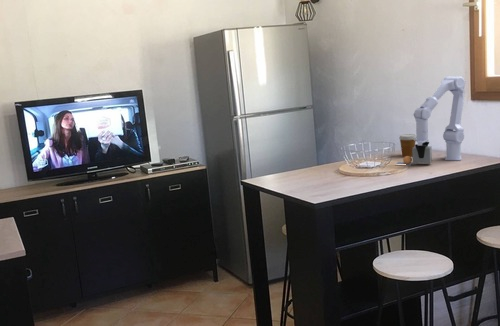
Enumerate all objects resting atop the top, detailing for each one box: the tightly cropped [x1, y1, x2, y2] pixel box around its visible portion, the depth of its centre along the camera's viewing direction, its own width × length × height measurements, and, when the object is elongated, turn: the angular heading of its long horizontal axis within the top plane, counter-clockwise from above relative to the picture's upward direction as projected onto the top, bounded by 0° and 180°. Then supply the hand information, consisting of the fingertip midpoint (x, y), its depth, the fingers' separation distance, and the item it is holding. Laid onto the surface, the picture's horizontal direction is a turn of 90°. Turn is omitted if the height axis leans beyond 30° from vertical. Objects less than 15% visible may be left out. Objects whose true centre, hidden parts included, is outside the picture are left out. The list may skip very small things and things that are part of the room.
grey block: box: [412, 145, 433, 164], centre depth 279 cm, size 6×9×8 cm
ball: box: [402, 156, 413, 164], centre depth 283 cm, size 4×4×4 cm
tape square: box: [395, 161, 414, 167], centre depth 284 cm, size 8×8×1 cm
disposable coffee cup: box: [398, 133, 417, 158], centre depth 303 cm, size 10×10×12 cm
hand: (422, 156), depth 279 cm, fingers closed on grey block, 6 cm apart
